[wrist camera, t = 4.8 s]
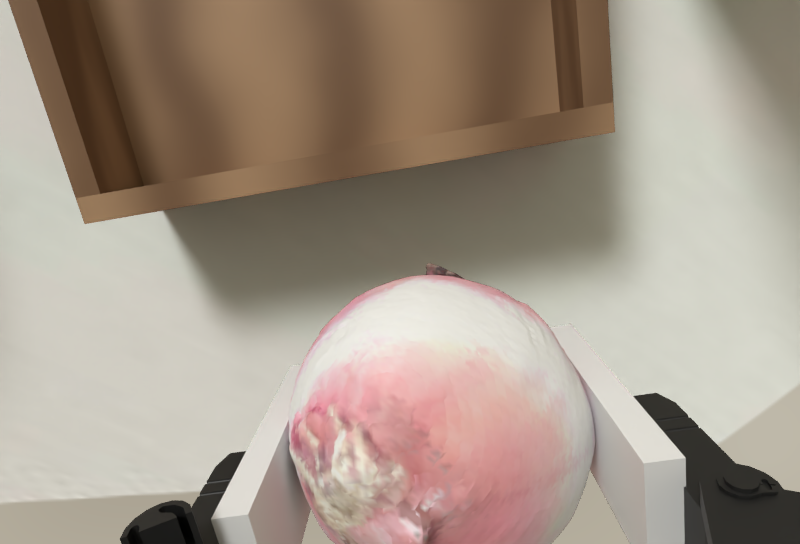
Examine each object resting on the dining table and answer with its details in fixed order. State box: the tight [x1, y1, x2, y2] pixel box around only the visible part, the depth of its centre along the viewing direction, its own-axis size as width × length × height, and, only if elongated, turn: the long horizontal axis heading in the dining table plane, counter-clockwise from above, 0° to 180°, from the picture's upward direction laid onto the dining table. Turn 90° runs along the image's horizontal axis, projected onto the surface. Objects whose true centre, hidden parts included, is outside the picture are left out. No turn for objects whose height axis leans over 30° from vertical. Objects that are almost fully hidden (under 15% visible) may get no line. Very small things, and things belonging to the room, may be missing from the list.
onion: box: [288, 263, 595, 544], centre depth 13 cm, size 8×8×7 cm
